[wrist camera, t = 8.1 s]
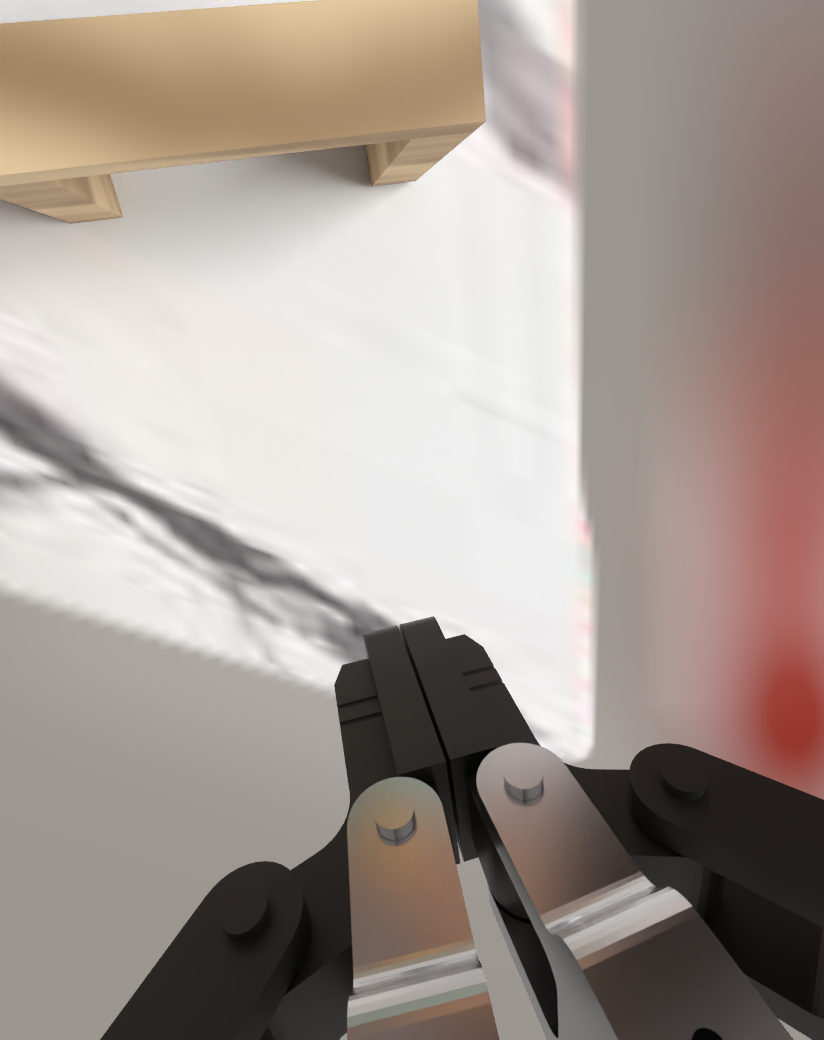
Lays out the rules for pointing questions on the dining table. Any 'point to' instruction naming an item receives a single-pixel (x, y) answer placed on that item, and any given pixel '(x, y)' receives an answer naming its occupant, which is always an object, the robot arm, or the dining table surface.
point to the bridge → (231, 92)
